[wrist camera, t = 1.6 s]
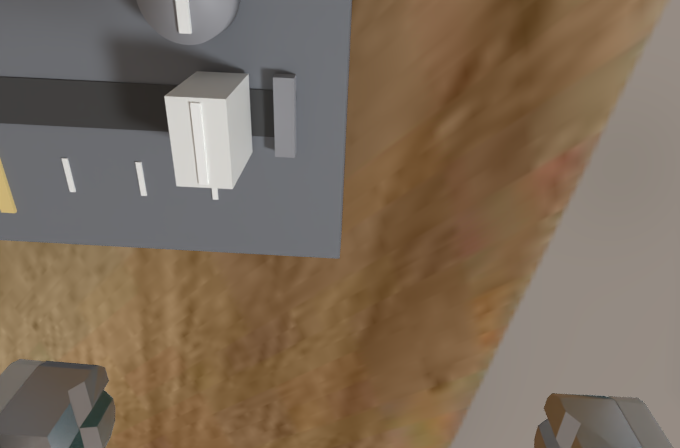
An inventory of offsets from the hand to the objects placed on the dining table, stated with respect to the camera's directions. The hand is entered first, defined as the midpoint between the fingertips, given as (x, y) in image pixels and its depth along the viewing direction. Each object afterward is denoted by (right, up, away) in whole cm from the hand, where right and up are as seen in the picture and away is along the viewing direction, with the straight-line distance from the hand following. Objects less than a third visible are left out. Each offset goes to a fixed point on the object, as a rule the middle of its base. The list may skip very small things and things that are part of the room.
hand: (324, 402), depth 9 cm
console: (-12, +11, +19) cm, 25 cm away
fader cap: (-5, +9, +16) cm, 19 cm away
